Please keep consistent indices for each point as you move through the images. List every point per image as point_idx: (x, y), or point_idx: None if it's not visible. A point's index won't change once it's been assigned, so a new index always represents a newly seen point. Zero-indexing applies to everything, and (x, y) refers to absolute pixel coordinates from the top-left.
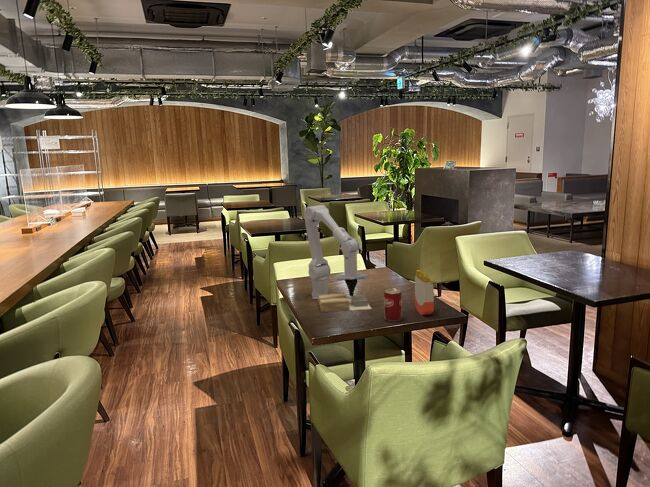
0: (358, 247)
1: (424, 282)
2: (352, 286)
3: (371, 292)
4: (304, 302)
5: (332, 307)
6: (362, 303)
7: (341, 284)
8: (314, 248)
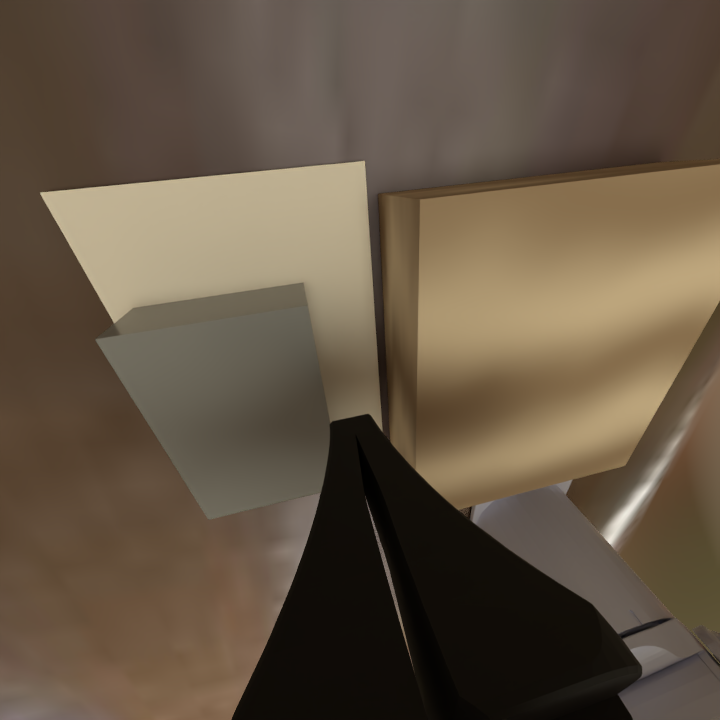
0: None
1: None
2: (377, 557)
3: (189, 601)
4: None
5: (597, 171)
6: (197, 310)
7: None
8: None
